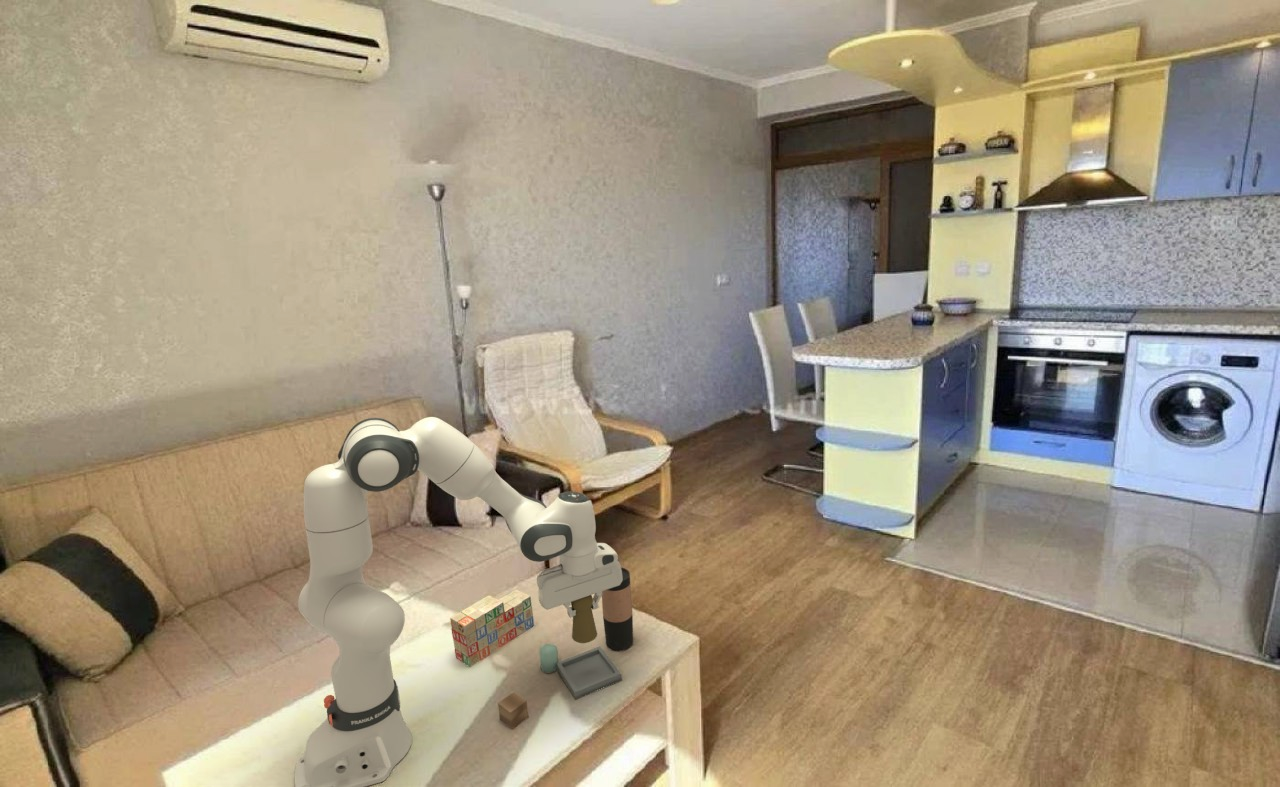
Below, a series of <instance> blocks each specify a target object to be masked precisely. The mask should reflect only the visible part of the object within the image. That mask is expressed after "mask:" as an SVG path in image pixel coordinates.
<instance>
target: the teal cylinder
mask: <svg viewBox="0 0 1280 787" xmlns="http://www.w3.org/2000/svg"><path fill="white" fill-rule="evenodd" d="M558 651H559V650H558V646H557V645H556V644H554V643H547V644H543V645H542V646H541V647H540V648H539V661H540V670H541V671H542V672H543V673H547V674H551V673H553V672H555V671H557V668H556V663H557V662H559V653H558Z"/></svg>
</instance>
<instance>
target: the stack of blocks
mask: <svg viewBox="0 0 1280 787" xmlns="http://www.w3.org/2000/svg"><path fill="white" fill-rule="evenodd" d="M449 620H450V625H451V629H450V630H451V635H452V640H453V646H454V653H455V659H456V660H458V661H460V662H461V663H463V664H464V663H465V665H466V666H467V665H468V668H472V667H473V666H475V665H476V664H478V663H480V662H481V661H483V660H484V659H486V658H487V657H489V656H490V655H493V653H495V652H497V651H498V650H500V648H502V647H504V646H505V645H506V644H508V643H509V642H511V641H512V640H514V639H516V637H518V636H520V635H521V634H523V633H525V632H526V631H528V630H529V629H530V628H532V627H533V626H534V625H535V624H534V623H535V622H534V611H533V606H532V598H531V595H529V594H526V593H525V592H522V591H520V590H518V589H514V590H513V591H512V592H509V593H508V594H506V595H505V596H502V597H500V598H499V599H497V598H496V597H493V596H491V595H490V594H489V595H487V596H485V597H483V598H481V599H480V600H478V601H476V602H475V603H473V604H471V605H470V606H468V607H466V608H465V609H463V610H461V611H459V612H457V613H455V614H454V615H452V616H451V617H449Z"/></svg>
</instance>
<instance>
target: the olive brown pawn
mask: <svg viewBox="0 0 1280 787" xmlns="http://www.w3.org/2000/svg"><path fill="white" fill-rule="evenodd" d="M592 603H593V594H592V595H589V596H587V597H584V598H581V599H578V600H575V601H572V602H571V605H570V607H572V608H573V609H575V610H576V616H574V617H572V627H571V628H572V629H571V631H572V632H571V638H572V639H573V641H574V642H576V643H578V644H586V643H590V642H592V641H594V640H596V638H598V631H597V627H596V622H595V618H594V614H593V610H592V608H591V606H592Z"/></svg>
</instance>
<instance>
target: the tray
mask: <svg viewBox="0 0 1280 787" xmlns="http://www.w3.org/2000/svg"><path fill="white" fill-rule="evenodd" d="M556 668H557V670H556V671H557V673H558V675H560V678H561V679H562V681H563V682H564V684H565V686H566V687H567V688H568V690H569V692H570V693H571V695H572V696H573V698H574V699H575V700H579V699H581V698H583V697H585V695H586V696H588V695H590V694H592V693H595V692H598V691H600V690H602V689H604V688H603V687H605V688H607V687H610V686H612V685H614V684H616V682H617V683H619V682H622V681H623V679H622V672H621V671H620V669H619V668H618V667H617V666H616V664H615V663H614V662H613V661H612V659H611V658H610V657H609V656H608V654H607V653H606V652H605V650H604V649H603V648H602V646H601V645H600V646H599V645H598V646H596V647H593V648H591V649H589V650H586V651H584V652H580V653H578V654H575V655H573V656H570V657H568V658H565V659H562V660H560V661H558V662H557V663H556ZM621 680H622V681H621ZM613 683H614V684H613ZM611 684H612V685H611ZM609 685H610V686H609ZM606 686H607V687H606ZM601 688H602V689H601ZM599 689H600V690H599ZM597 690H598V691H597Z"/></svg>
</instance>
